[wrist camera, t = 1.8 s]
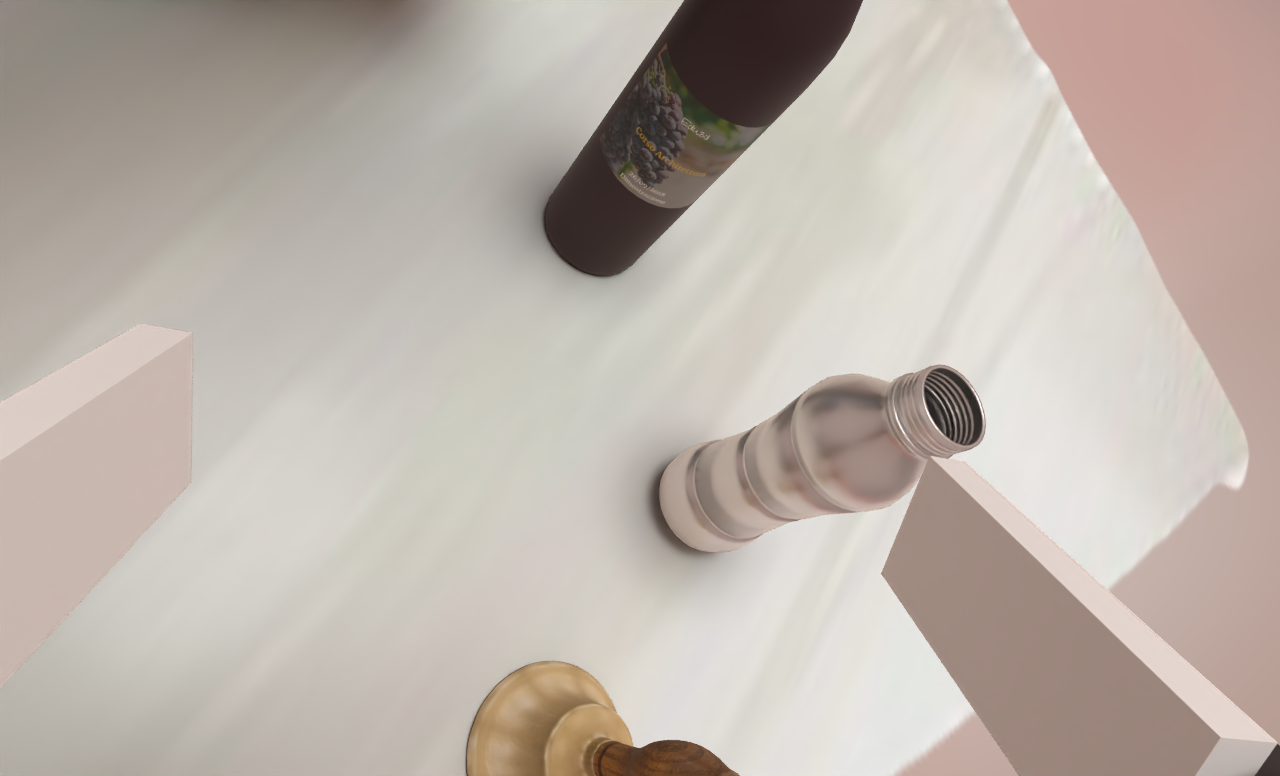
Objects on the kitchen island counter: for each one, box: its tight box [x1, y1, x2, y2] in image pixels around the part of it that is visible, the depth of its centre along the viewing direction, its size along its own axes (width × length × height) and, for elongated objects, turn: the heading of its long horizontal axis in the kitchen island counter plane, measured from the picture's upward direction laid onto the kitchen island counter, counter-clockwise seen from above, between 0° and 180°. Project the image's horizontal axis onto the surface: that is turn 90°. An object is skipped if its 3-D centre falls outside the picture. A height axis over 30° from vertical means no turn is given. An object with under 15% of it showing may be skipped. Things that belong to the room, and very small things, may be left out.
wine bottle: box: [545, 0, 863, 276], centre depth 37 cm, size 7×7×30 cm
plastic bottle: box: [659, 365, 986, 552], centre depth 37 cm, size 6×7×20 cm
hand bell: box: [467, 661, 739, 776], centre depth 30 cm, size 8×8×16 cm
